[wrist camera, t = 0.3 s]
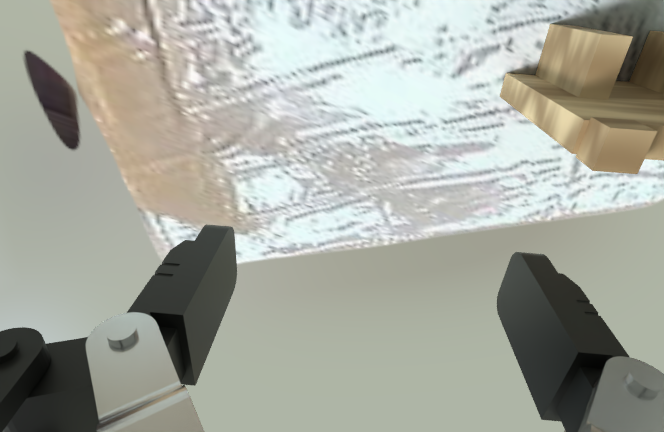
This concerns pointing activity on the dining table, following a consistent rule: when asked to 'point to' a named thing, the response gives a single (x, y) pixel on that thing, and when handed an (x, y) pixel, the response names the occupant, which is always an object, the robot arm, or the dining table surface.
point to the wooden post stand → (595, 97)
